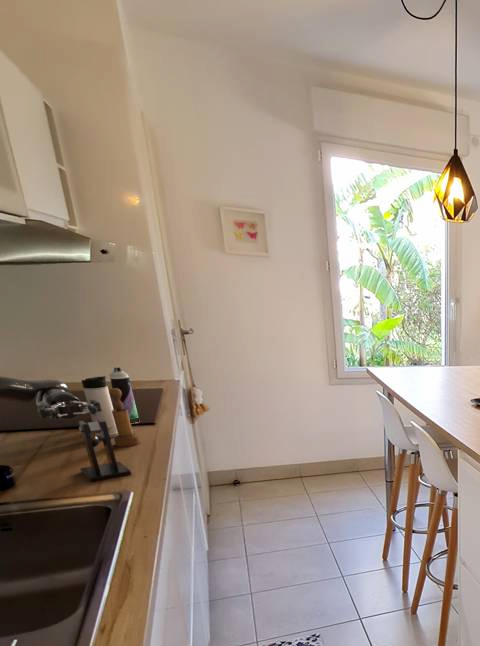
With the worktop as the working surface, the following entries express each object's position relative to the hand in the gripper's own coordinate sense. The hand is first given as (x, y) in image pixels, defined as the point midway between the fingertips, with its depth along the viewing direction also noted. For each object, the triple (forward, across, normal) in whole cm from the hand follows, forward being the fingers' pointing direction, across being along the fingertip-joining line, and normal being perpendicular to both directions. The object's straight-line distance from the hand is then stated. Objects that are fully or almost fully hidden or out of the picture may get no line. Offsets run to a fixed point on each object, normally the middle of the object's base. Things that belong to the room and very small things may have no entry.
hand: (75, 413), depth 159 cm
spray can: (-37, +20, +13) cm, 44 cm away
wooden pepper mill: (-7, +12, +13) cm, 19 cm away
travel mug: (-21, +10, +13) cm, 27 cm away
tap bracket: (+21, 0, +13) cm, 25 cm away
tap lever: (+17, 0, +5) cm, 18 cm away
